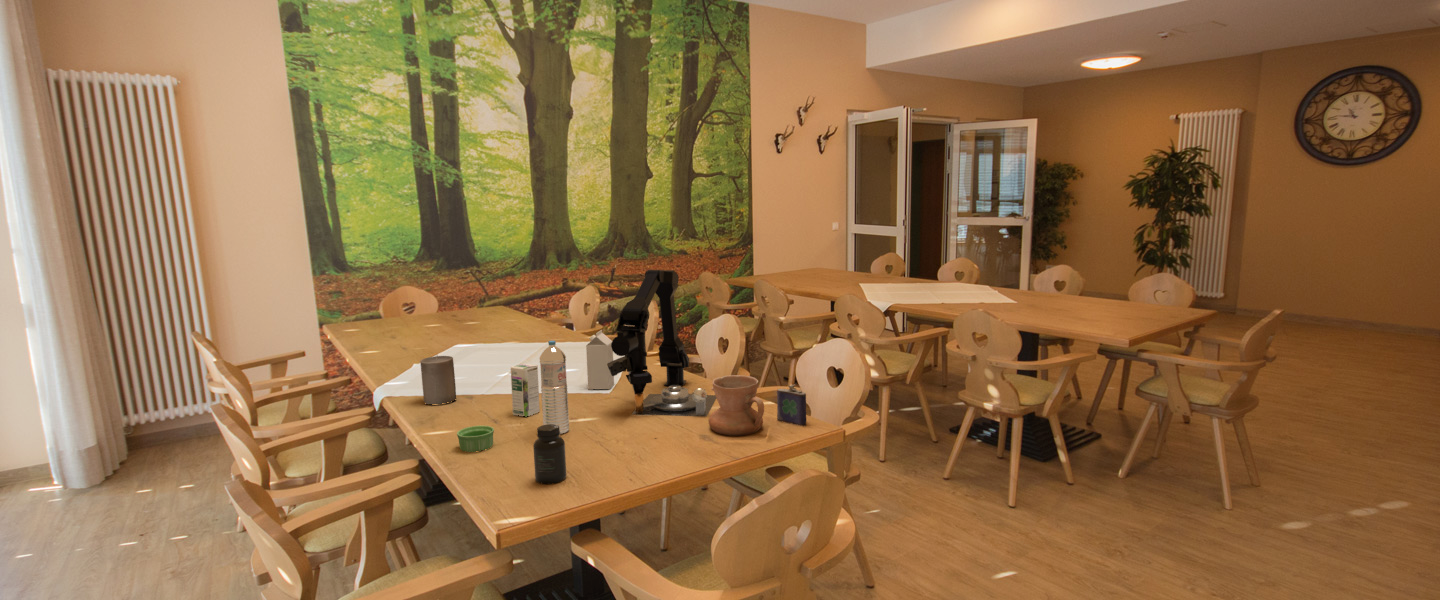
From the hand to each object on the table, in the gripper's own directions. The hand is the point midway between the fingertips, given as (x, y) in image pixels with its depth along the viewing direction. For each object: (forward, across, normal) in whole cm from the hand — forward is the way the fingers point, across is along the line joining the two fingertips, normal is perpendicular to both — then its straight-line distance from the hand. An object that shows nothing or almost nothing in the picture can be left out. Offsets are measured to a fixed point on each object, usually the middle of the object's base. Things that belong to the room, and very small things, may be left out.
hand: (637, 399), depth 213 cm
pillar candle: (+3, -28, -59) cm, 65 cm away
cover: (+1, +1, +11) cm, 11 cm away
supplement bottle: (+2, +48, -26) cm, 55 cm away
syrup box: (+3, -6, -32) cm, 33 cm away
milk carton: (+4, -29, -8) cm, 31 cm away
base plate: (+3, +2, +11) cm, 12 cm away
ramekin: (+3, +20, -44) cm, 49 cm away
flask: (+3, +25, +39) cm, 47 cm away
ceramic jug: (+3, +29, +22) cm, 37 cm away
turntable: (+2, +3, +9) cm, 9 cm away
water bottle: (+3, +14, -24) cm, 28 cm away
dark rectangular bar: (+2, +13, +16) cm, 21 cm away
